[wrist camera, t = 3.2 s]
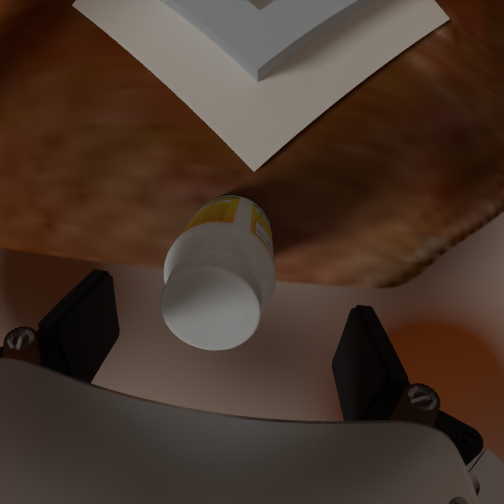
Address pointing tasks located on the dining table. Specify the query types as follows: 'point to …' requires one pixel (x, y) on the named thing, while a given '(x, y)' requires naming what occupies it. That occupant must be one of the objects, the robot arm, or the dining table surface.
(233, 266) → the supplement bottle
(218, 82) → the socket holder
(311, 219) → the dining table surface
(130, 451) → the robot arm
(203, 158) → the dining table surface
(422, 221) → the dining table surface
